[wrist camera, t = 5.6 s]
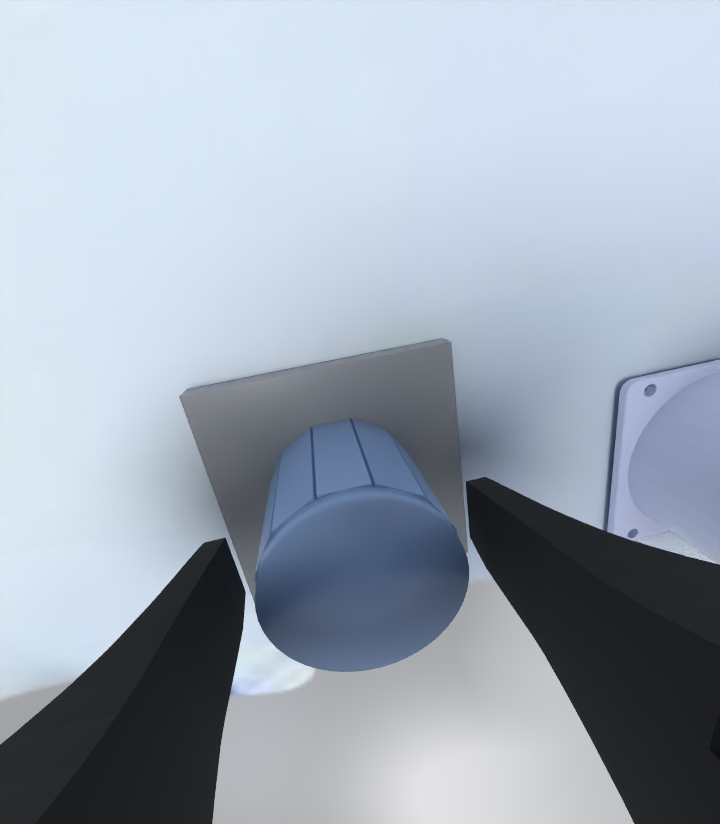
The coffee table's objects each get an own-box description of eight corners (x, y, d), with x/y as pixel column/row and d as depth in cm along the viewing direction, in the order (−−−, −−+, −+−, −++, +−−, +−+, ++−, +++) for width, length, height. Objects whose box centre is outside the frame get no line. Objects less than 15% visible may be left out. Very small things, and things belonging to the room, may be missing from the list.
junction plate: (442, 338, 13) (495, 359, 9) (459, 539, 16) (504, 612, 12) (187, 389, 12) (139, 432, 9) (257, 589, 15) (244, 681, 12)
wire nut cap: (403, 406, 13) (461, 477, 8) (419, 527, 14) (474, 642, 10) (255, 437, 12) (226, 532, 8) (290, 557, 14) (284, 693, 9)
